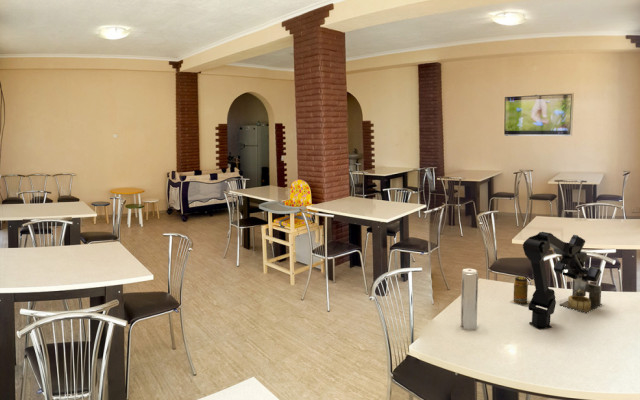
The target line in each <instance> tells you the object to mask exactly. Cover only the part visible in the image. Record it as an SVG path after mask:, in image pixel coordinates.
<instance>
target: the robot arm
mask: <svg viewBox="0 0 640 400" xmlns="http://www.w3.org/2000/svg"><path fill="white" fill-rule="evenodd" d="M585 243H586V239H583V238H582V237H580V236H579V235H577V234H573V235H572V236H571V238H570V239H569V241H568V242H565V241H563V240H561V239H559V238H558V237H557V236H555V235H554V234H552V232H545V231H539V232H538V233H537V234H535V235H532V236H529V237H528V238H527V239H526V240H525V241H524V242H523V243H522V248H523V252H524V255H525V257H526V258H527V259H528V260H529V261H530V265H531V271H532V276H533V282H534V287H535V290H534V291H533V294H532V298H531V300H530V303H529V306H527V307H528V311H530V312H531V313H532V314H531V321H530V322H529V323H528V324H529V325H530V326H533V327H535V328H536V329H538V330H544V329H552V328H553V325H551V316H552V315H553V314H555V309H556V304H557V301H556V299H557V297H556V292H555V290H554V289H552V288H550V287H549V283H548V278H547V271H546V265H545V258H546V255H547V254H548V251H549V250H550V249H553V252H554V253H555V255H557V256H558V255H559V256H561V259H558V260H557V261H556V263H555V264H554V267H553V271H554V273H556V274H560V275H561V274H562V276H564V277H568V278H570V279H573V280H575V275H579V274H580V275H584V276H583V278H582V280H584V281H585V282H586V283H589V282H594V283H596V282H598V280H599V279H600V276H601V273H602V271H601V268H600V267H595V266H590V267H586V264H585V263H586V262H587V261H588V253H587V252H584V251H582V250H583V248H584V246H585Z"/></svg>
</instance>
